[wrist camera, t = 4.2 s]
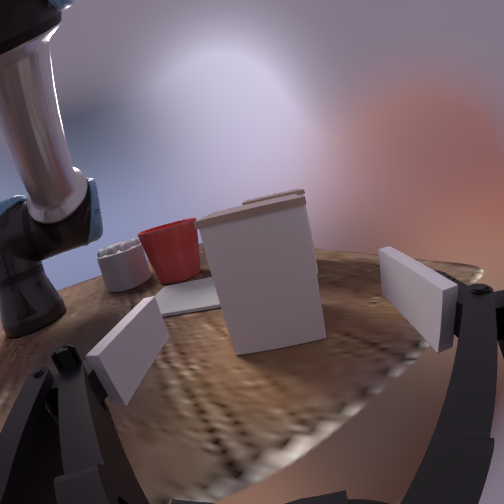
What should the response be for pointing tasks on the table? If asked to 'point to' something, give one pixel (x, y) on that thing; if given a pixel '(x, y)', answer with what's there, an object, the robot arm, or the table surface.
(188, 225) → the flower pot
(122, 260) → the lumpy-topped squat cylinder
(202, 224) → the cover canister
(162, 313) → the felt mat
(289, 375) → the table surface
